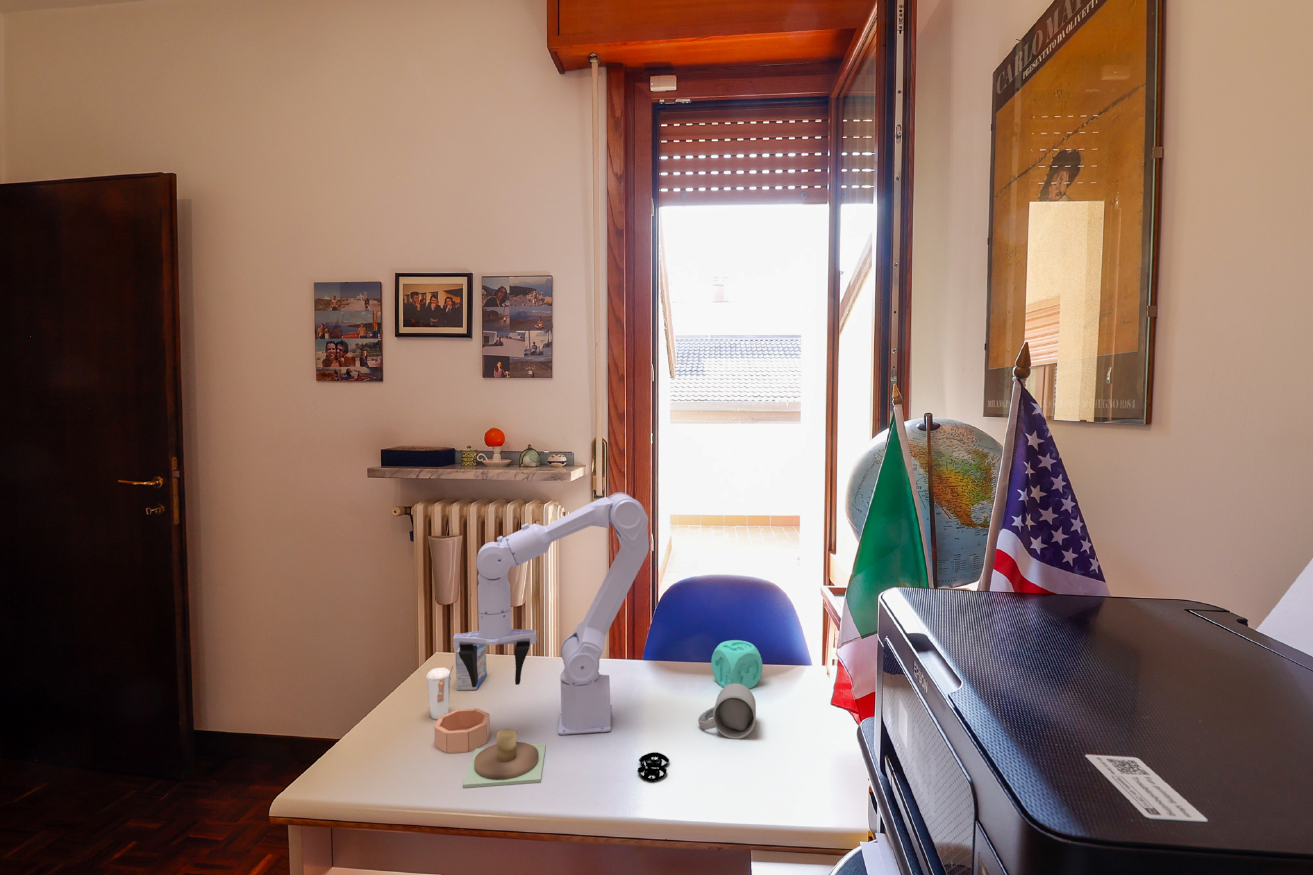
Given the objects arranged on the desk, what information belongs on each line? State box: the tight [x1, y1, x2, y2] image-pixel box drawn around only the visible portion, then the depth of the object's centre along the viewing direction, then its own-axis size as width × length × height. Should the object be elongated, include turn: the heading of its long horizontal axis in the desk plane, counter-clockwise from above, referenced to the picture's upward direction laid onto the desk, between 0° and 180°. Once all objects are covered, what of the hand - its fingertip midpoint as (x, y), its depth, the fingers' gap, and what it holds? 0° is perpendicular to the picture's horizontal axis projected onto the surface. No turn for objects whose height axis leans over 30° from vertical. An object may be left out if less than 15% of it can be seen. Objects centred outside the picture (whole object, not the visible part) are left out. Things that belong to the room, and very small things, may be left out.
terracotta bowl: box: [433, 707, 491, 754], centre depth 115 cm, size 9×9×4 cm
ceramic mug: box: [697, 683, 757, 740], centre depth 118 cm, size 11×8×8 cm
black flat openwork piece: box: [636, 751, 670, 783], centre depth 105 cm, size 5×8×1 cm, turn 175°
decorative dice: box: [710, 639, 764, 690], centre depth 138 cm, size 8×8×8 cm
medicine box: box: [454, 645, 488, 691], centre depth 140 cm, size 8×4×9 cm, turn 179°
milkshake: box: [425, 665, 454, 720], centre depth 125 cm, size 4×5×10 cm
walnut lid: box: [474, 728, 539, 779], centre depth 107 cm, size 10×10×5 cm
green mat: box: [462, 743, 547, 789], centre depth 106 cm, size 12×11×1 cm
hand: (496, 683), depth 117 cm, fingers open, 7 cm apart
